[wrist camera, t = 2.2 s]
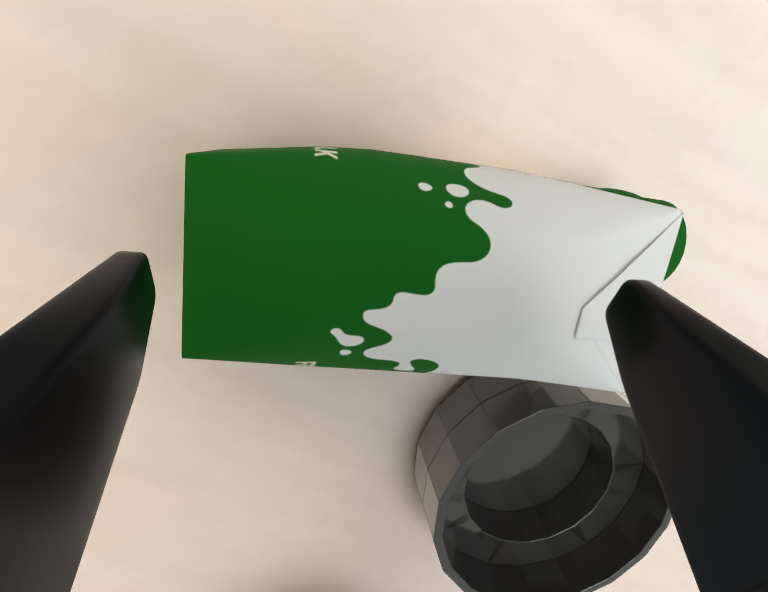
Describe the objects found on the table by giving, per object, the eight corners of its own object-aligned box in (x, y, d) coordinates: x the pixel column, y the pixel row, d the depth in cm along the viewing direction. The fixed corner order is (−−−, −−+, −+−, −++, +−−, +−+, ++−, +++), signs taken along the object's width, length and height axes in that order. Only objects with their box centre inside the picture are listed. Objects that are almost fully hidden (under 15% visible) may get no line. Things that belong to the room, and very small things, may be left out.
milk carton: (224, 127, 22) (610, 184, 26) (216, 312, 25) (569, 339, 29) (177, 121, 14) (752, 204, 18) (173, 398, 17) (676, 420, 20)
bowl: (574, 540, 35) (619, 613, 30) (387, 524, 32) (402, 602, 27) (656, 372, 31) (725, 423, 26) (450, 334, 28) (482, 383, 22)
